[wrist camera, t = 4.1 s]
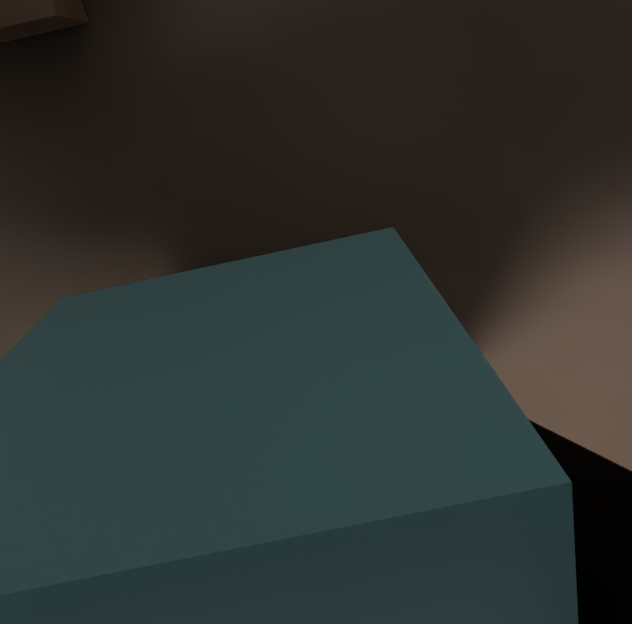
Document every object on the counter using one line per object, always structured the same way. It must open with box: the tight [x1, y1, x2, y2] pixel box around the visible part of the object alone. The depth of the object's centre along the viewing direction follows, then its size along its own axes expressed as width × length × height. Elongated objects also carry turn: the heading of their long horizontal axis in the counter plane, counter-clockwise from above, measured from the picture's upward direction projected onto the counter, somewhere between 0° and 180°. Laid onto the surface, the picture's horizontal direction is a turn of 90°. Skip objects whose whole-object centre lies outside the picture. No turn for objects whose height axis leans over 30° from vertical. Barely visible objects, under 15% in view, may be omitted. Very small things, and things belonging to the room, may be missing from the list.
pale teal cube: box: [0, 227, 578, 624], centre depth 7 cm, size 5×5×6 cm
